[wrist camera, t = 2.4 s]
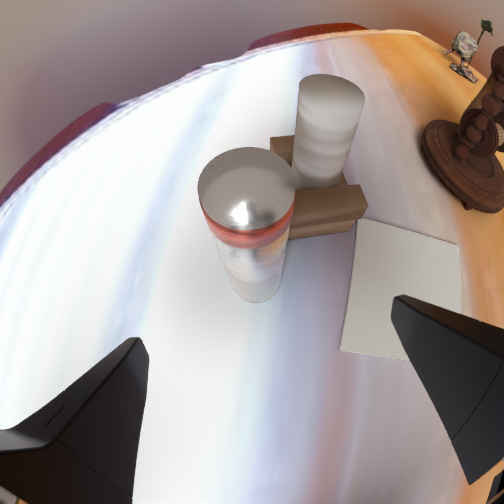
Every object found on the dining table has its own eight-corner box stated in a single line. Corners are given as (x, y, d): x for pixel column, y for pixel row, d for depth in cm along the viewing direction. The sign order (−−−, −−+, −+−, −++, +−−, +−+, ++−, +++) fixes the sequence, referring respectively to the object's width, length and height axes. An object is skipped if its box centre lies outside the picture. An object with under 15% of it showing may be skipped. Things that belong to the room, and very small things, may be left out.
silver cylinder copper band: (285, 299, 22) (307, 216, 10) (233, 307, 21) (198, 232, 10) (276, 252, 23) (284, 141, 12) (228, 259, 23) (195, 154, 12)
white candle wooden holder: (351, 236, 23) (405, 132, 12) (286, 245, 23) (302, 133, 12) (326, 168, 27) (350, 63, 15) (269, 173, 27) (270, 62, 15)
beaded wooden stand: (455, 128, 30) (501, 32, 12) (511, 204, 25) (583, 115, 6) (396, 137, 29) (445, 2, 11) (466, 234, 23) (574, 110, 5)
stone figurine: (448, 59, 44) (466, 6, 26) (480, 84, 40) (503, 30, 21) (437, 59, 42) (455, 0, 24) (471, 85, 38) (496, 25, 20)
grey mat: (454, 364, 18) (456, 364, 18) (338, 350, 20) (339, 349, 19) (457, 247, 22) (459, 246, 22) (357, 219, 24) (358, 216, 24)
